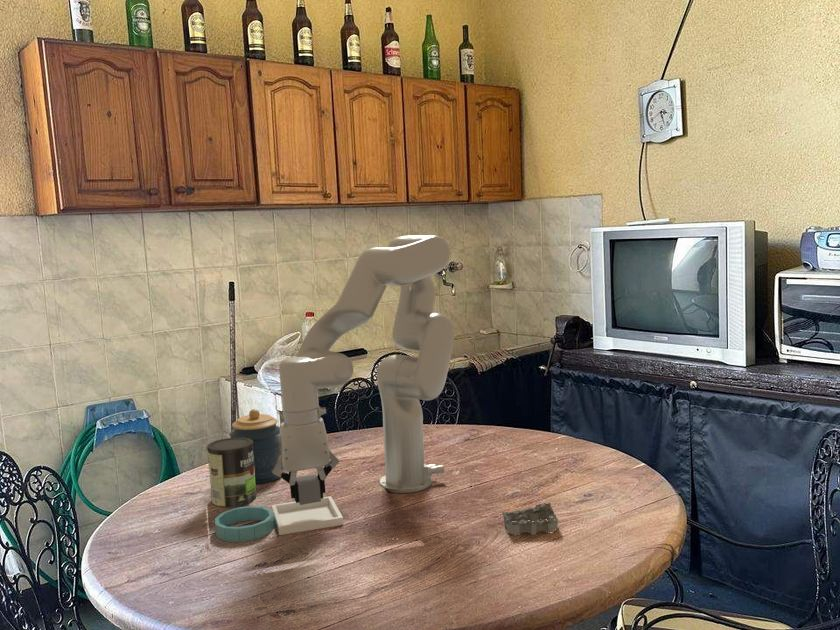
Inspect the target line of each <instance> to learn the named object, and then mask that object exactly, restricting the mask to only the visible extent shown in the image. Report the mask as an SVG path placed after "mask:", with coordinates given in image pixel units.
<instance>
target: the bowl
mask: <svg viewBox="0 0 840 630" xmlns="http://www.w3.org/2000/svg"><path fill="white" fill-rule="evenodd" d="M243 521H260V522H258V523H255V524H251V525H242V526H229V525H232V524H235V523H237V522H243ZM274 522H275V519H274V516H273V513H272V509H271V508H268V507H265V506H259V505H258V506H257V505H255V506H254V505H247V506H238V507H233V508H231V509H229V510H225V511H223V512H221V513H220V514H219V515H218V516H216V517H215V518H214V524H215V525H214V526H215V536H216V538H217V539H220V540H222V541H224V542H229V543H230V542H234V543H235V542H236V543H240V542H242V543H243V542H248V541H253V540H258V539H260V538H262V537H264V536H268V535H269V534H270V533H271V532H272V531H273V529H275V524H274Z"/></svg>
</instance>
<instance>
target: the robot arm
mask: <svg viewBox="0 0 840 630" xmlns="http://www.w3.org/2000/svg"><path fill="white" fill-rule="evenodd" d="M450 258H451V249H450V246H449V244H448V242H447V241H446V240H445V239H444V238H443V237H442V236H438V235H432V234H430V235H403V236H397V237H395V238H393V239H392V240H391V241H390V242H389V244H388V245H387V246H386V247H383V246H382V247H370V248H368V249H365V250H363V252H362V253H360V255H359V257H358V259H357V260H356V263H354V264H355V265H354V266H353V269H352V271H351V272H350V275H349V277H348V278H347V281H346V283H345V285H344V288H343V289H342V291H341V294H340V296H339V298H338V299H337V302H336V303H335V304H334V305H333V306H331V307H330V309H328V310H327V311H326V312H325V313H324V314H323V315H322V316H321V317H320V318H319V319H318V320H317V321H316V322H315V323H314V324H313V325H312V326H311V327H310V329H309V330H308V332H307V333H306V335H305V337H304V339H303V340H302V343H301V345H300V347H299V350H298V351H297V354H296V356H294V357H289V358H286V359H283V360H282V361H280V364H279V366H278V367H279V368H278V371H279V372H278V373H279V381H280V382H279V383H280V392H281V393H280V395H281V403H282V416H283V421H282V422H281V423H280V426H279V427H280V433H279V447H280V457H279V458H278V460H277V462H276V463H275V465H274V467H273V468H272V473H273V474H275V475H277V476H279V477H280V478H281V479H282V480H283V481H285V482H286V483H288V484H289V489H290V490H289V491H290V497H291V499H294V502H296V503H299V495H298V485H297V483H296V477H297V473H298V472H299V471H304V470H305V471H306V470H312V469H316V472H317V474H316V476H317V478H318V480H319V483H320V495H321V499H323V497H324V494H325V493H326V482H325V480H326V479H327V476H328V475H329V474H330V472H331V471H333V469H334V468H335V467H336V466H338V464H340V460H339V458H338V456H336V455H335V454H334V453H333V451H331V450H330V449H329V440H328V435H327V434H328V433H327V430H326V426H325V423H324V419H323V418H322V417H321V416H323V415H325V414H327V409H326V406H325V407H323V406H320V405H319V402H320V401H319V395H318V394H319V393H318V390H320V389H321V390H322V389H335V388H339V387H342V386H343V385H345V384H347V383H348V382H349V381H350V380H351V379H352V377H353V374H354V364H353V362H352V360H351V359H350V358H349V356H347V355H345V353H341V352H337V351H331V350H332V348H333V347H334V345H335V343H336V342H337V341H338V340H339V339H340V338H341V337H343V336H344V335H345V334H347V333H349V332H350V331H353V330H355V329H357V328H360V327H361V326H363V325H365V324H367V323H369V322H370V321H371V320H372V318H373V317H374V315H375V312H376V311H377V307H378V306H379V303H380V301H381V299H382V297H383V295H384V292H385V290H386V289H387V287H388V286H400V287H399V288H400V293H399V298H398V304H397V308H396V313H395V317H394V321H393V327H392V331H391V332H392V333H391V334H392V335H391V336H392V337H391V338H392V341H393V343H394V345H395V346H396V347H398V348H399V349H403V350H406V351H411V352H418V357H417V356H412V355H404V354H392V355H388V356H387V357H385V358H383V359H382V360H381V361H380V362H379V364H378V367H377V371H376V382H377V387H378V391H379V395H380V400H381V408H382V427H383V428H382V429H383V450H384V451H383V452H384V453H383V454H384V471H385V472H384V473H385V475H384V476H382V477H381V478H379V482H378V483H379V485H380V487H382V488H383V489H384V490H385V491H387V492H390V493H395V494H407V493H416V492H421V491H423V490H426V489H428V488H429V487H430V486H431V485H432V476H433V475H439V474H440V475H441V474H444V473H445V467H444V465H436V464H435V463H433V464H426V462H425V449H424V448H425V447H424V444H425V443H424V423H423V421H424V415H423V409H422V405H421V401H432V400H436V399H437V398H438V397H439V396H440V394H441V393H442V392H443V389H444V388H445V384H446V381H447V377H448V372H449V367H450V362H451V358H452V355H453V353H452V352H453V349H454V344H455V343H454V342H455V330H454V326H453V323H452V321H451V320H450V318H449V317H447V316H446V315H445V314H442V313H440V312H434V308H435V301H436V287H435V283H434V281H433V279H432V277H431V276H433V275H435V274H437V273H439V272H441V271H442V270H444V269H445V268H446V267H447V265H448V264H449V262H450ZM420 400H421V401H420ZM282 465H283V469H284V470H283V471H282V470H281V467H282ZM287 472H288V473H287Z"/></svg>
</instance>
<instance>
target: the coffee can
mask: <svg viewBox="0 0 840 630" xmlns="http://www.w3.org/2000/svg"><path fill="white" fill-rule="evenodd" d="M206 449H207V456H208V458H207V459H208V469H209V470H208V471H209V479H210V480H209V481H210V482H209V483H210V495H211V504H212V505H213V506H215V507H218V508H238V507H243V506H245V505H248V504H250V503H252V502H254V501H255V500H256V499H257V489H256V488H257V486H256V485H257V484H255V470H254V454H253V440H251V439H248V438H231V437H228V438H227V437H226V438H221V439H218V440H215V441H212V442H210V443H208V444H207V445H206Z"/></svg>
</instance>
